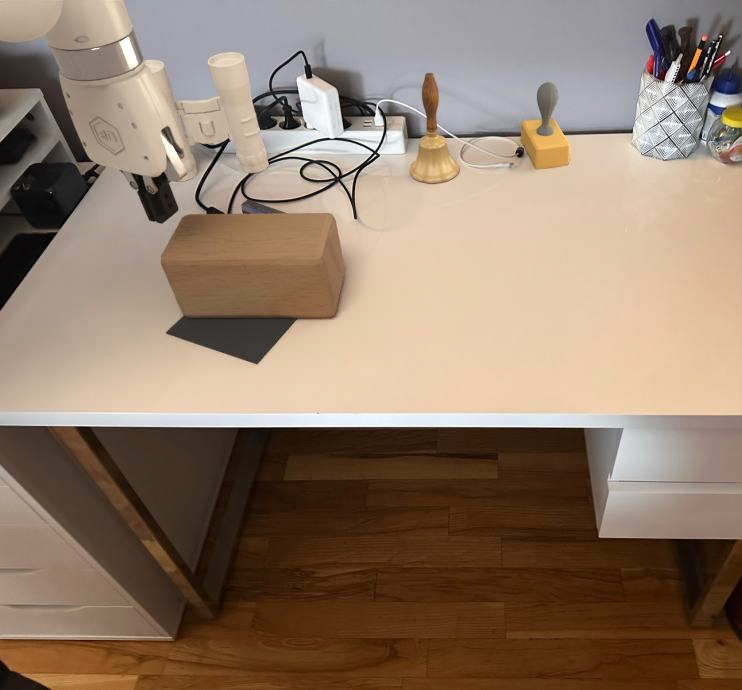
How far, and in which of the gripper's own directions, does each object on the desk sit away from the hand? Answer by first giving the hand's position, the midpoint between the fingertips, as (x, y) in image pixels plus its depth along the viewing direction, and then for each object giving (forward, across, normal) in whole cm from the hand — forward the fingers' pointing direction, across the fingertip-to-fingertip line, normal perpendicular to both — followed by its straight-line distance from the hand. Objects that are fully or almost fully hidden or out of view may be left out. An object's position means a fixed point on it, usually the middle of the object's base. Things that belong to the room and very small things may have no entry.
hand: (164, 215), depth 77 cm
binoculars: (+15, -21, +30) cm, 40 cm away
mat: (+15, +5, +1) cm, 16 cm away
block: (+10, -3, +2) cm, 11 cm away
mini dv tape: (+15, 0, +16) cm, 22 cm away
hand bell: (+15, +13, +43) cm, 47 cm away
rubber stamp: (+15, +28, +55) cm, 64 cm away
